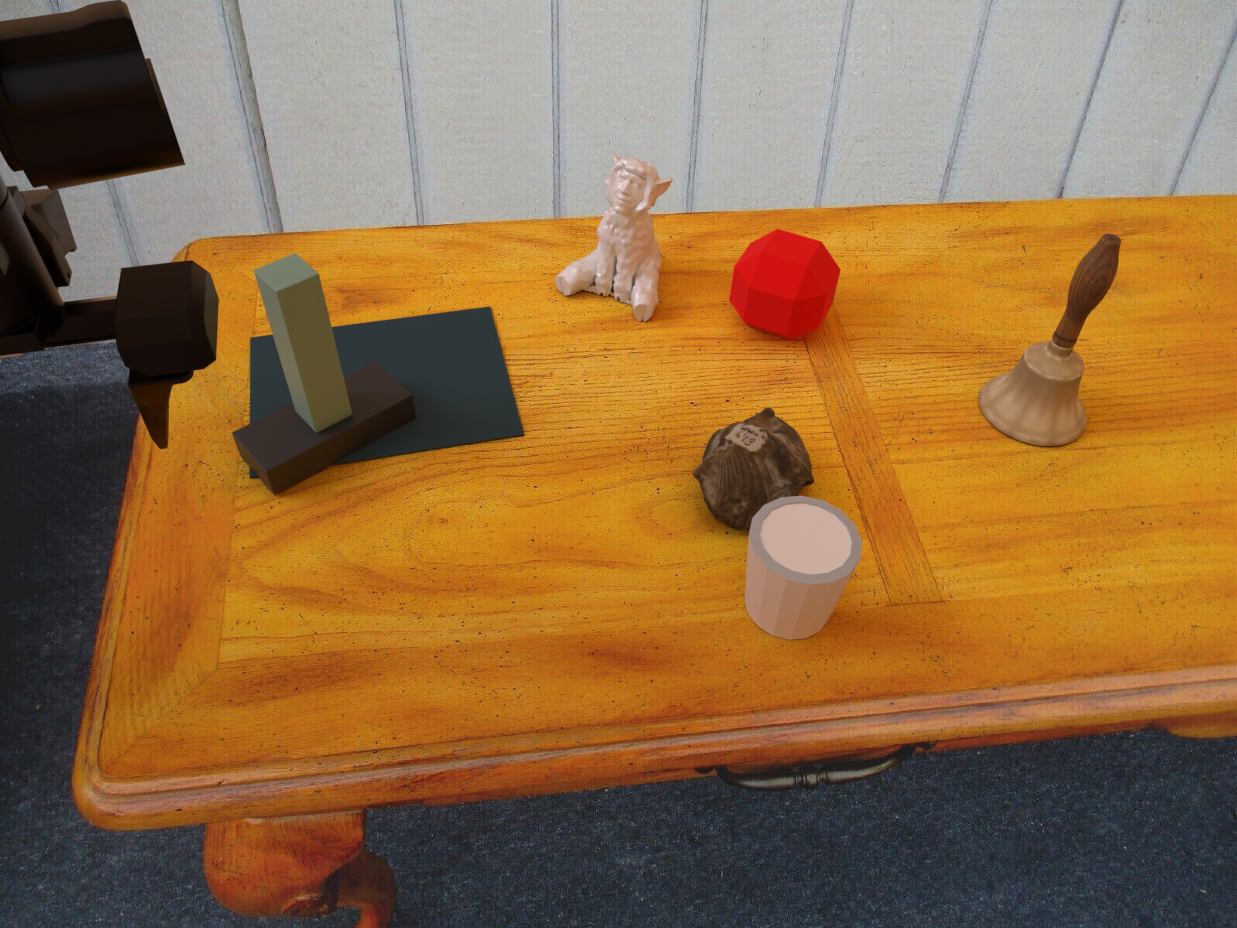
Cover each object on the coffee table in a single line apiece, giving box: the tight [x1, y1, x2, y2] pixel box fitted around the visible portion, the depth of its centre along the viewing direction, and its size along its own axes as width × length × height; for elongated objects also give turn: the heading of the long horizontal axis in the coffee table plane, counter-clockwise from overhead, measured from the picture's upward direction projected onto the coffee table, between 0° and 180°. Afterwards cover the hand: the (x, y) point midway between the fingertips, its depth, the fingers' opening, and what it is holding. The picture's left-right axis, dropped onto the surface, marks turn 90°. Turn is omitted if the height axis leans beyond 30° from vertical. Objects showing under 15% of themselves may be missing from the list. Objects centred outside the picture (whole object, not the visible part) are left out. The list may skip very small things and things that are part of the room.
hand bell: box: [978, 233, 1122, 447], centre depth 70 cm, size 8×8×16 cm
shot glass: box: [744, 495, 863, 641], centre depth 60 cm, size 7×7×7 cm
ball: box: [728, 228, 842, 341], centre depth 80 cm, size 8×8×8 cm
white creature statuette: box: [554, 153, 674, 323], centre depth 81 cm, size 10×9×12 cm
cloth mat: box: [249, 305, 525, 479], centre depth 76 cm, size 20×16×1 cm
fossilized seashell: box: [692, 407, 815, 531], centre depth 68 cm, size 8×7×10 cm
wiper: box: [231, 252, 416, 496], centre depth 66 cm, size 12×5×15 cm, turn 132°
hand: (75, 456), depth 52 cm, fingers open, 9 cm apart
